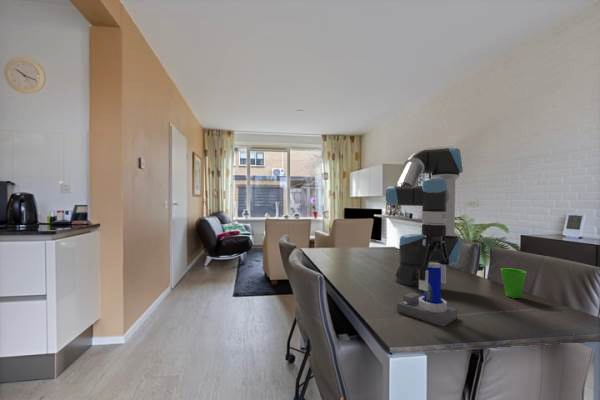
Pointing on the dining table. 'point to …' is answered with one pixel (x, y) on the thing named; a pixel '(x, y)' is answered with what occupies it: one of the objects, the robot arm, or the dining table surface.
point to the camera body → (426, 309)
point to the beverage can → (433, 284)
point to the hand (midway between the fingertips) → (432, 286)
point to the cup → (513, 281)
